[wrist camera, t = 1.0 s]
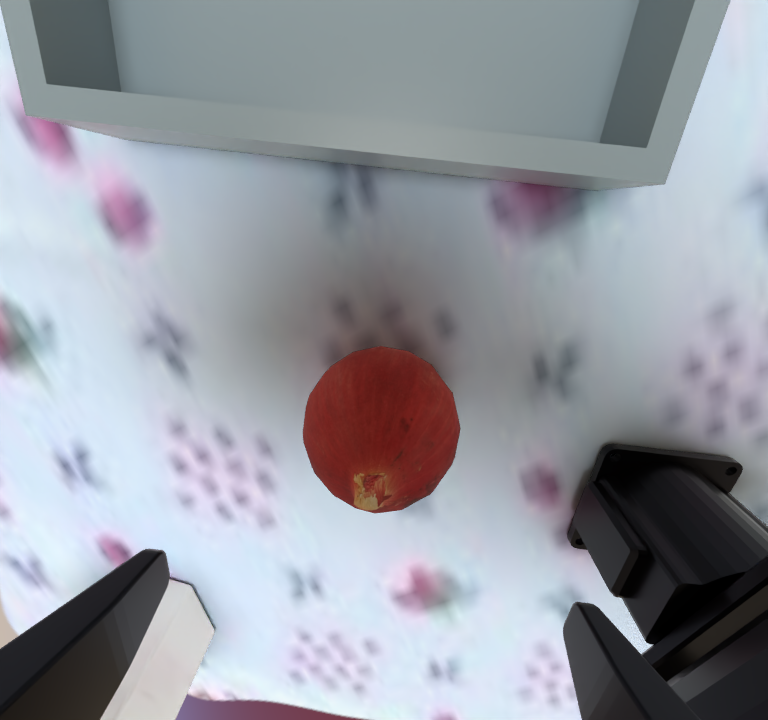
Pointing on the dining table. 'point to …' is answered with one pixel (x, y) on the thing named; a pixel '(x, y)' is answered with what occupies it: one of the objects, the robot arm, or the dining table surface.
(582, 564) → the dining table surface
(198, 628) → the jar
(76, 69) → the tray
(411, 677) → the dining table surface
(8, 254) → the dining table surface
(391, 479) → the onion
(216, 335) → the dining table surface
